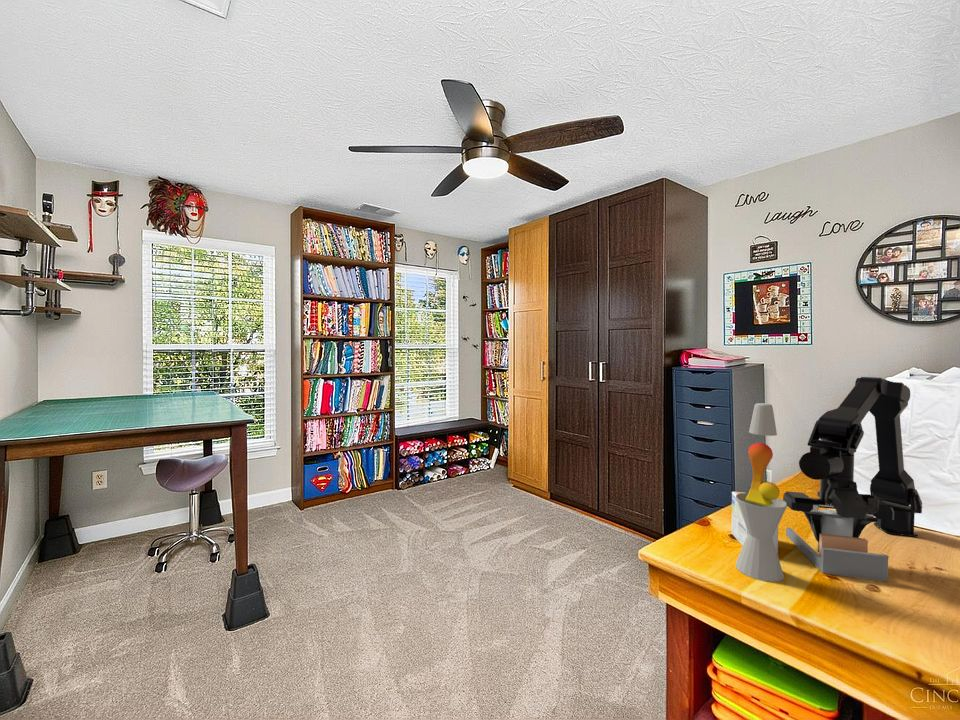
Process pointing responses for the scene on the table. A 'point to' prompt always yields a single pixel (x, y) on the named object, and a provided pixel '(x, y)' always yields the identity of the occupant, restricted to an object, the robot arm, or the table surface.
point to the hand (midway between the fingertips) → (834, 543)
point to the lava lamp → (761, 506)
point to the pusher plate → (843, 543)
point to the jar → (835, 524)
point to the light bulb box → (743, 524)
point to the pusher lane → (844, 560)
